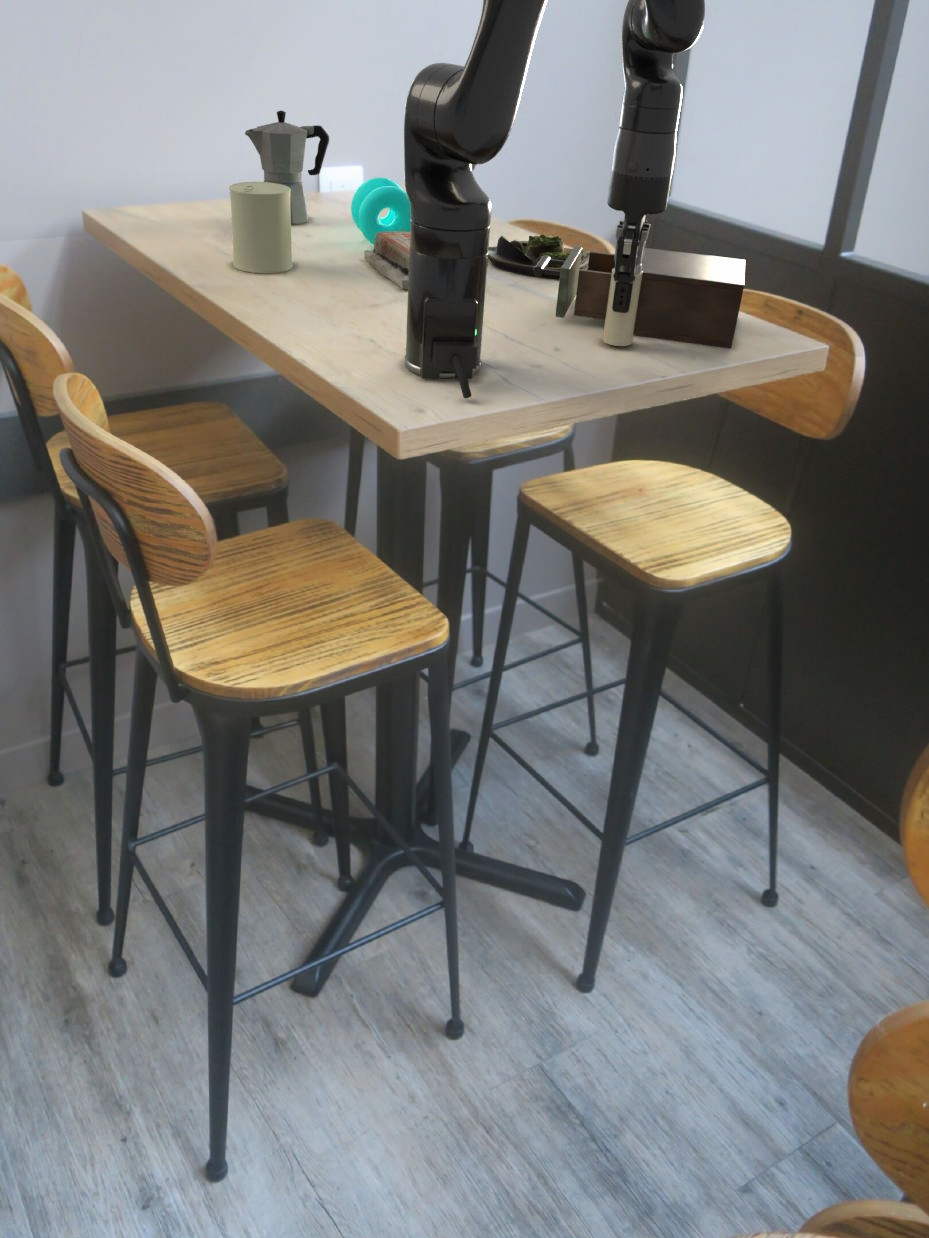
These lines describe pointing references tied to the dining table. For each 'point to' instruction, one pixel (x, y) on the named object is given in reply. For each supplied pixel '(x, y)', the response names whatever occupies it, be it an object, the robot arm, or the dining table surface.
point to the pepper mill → (622, 324)
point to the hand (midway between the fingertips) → (622, 306)
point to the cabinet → (689, 297)
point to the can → (261, 227)
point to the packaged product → (391, 256)
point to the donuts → (380, 208)
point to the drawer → (581, 282)
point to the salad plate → (531, 254)
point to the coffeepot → (288, 158)
